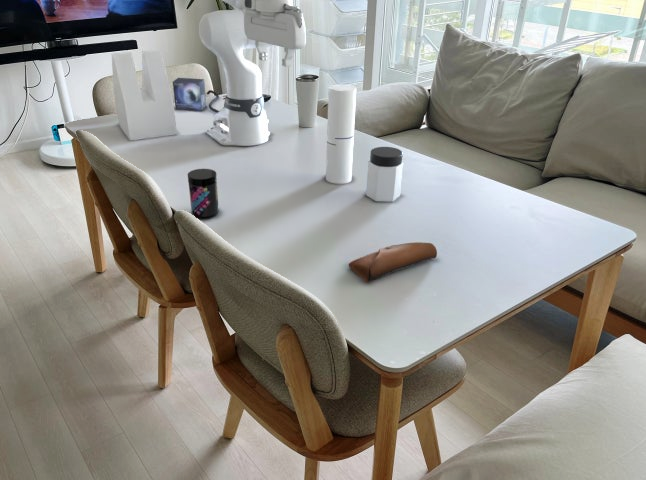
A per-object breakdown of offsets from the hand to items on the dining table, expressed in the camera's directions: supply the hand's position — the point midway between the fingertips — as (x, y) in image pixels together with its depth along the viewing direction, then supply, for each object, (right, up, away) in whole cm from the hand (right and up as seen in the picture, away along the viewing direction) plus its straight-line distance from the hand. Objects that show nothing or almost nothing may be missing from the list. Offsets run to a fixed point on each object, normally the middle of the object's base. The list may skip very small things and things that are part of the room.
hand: (274, 63), depth 147 cm
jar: (+28, -32, +8) cm, 43 cm away
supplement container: (-17, -38, -3) cm, 42 cm away
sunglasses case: (+26, -51, -23) cm, 61 cm away
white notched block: (-47, -3, +54) cm, 72 cm away
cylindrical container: (+17, -26, +18) cm, 36 cm away
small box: (-36, +11, +77) cm, 85 cm away
